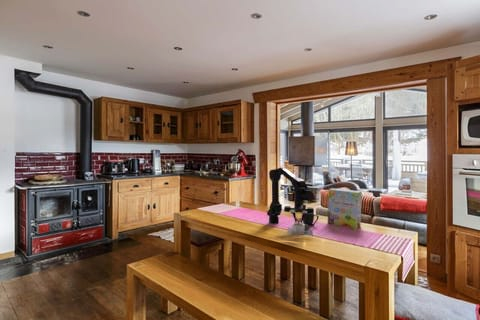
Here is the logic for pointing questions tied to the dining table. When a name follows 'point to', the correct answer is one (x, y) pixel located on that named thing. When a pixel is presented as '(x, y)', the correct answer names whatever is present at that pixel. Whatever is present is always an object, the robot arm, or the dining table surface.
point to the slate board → (300, 233)
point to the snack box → (344, 207)
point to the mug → (309, 219)
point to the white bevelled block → (299, 227)
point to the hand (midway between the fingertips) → (298, 222)
